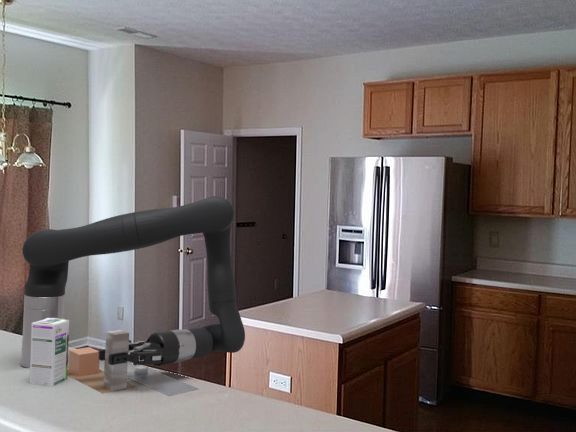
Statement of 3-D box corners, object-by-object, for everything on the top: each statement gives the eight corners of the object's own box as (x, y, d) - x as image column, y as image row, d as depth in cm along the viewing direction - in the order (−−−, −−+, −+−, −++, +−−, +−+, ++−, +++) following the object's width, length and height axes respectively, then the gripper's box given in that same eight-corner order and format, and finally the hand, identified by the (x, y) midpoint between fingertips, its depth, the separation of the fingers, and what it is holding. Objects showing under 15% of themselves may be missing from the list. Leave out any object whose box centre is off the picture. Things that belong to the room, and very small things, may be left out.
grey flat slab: (118, 377, 138) (119, 367, 138) (148, 372, 144) (148, 361, 144) (168, 400, 124) (169, 388, 124) (199, 393, 130) (199, 382, 130)
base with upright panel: (58, 375, 137) (61, 319, 137) (90, 369, 143) (93, 316, 143) (102, 398, 123) (105, 336, 123) (135, 390, 129) (138, 331, 129)
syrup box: (52, 391, 126) (55, 323, 126) (28, 388, 127) (31, 321, 127) (67, 383, 132) (70, 319, 132) (44, 380, 133) (47, 316, 133)
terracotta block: (68, 371, 137) (69, 350, 137) (88, 368, 141) (89, 347, 141) (78, 376, 134) (79, 354, 134) (98, 372, 137) (99, 351, 137)
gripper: (155, 325, 143) (88, 333, 130) (190, 336, 133) (122, 347, 120) (153, 356, 143) (87, 367, 130) (189, 369, 133) (121, 383, 121)
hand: (104, 357), depth 125 cm, fingers closed on base with upright panel, 3 cm apart
